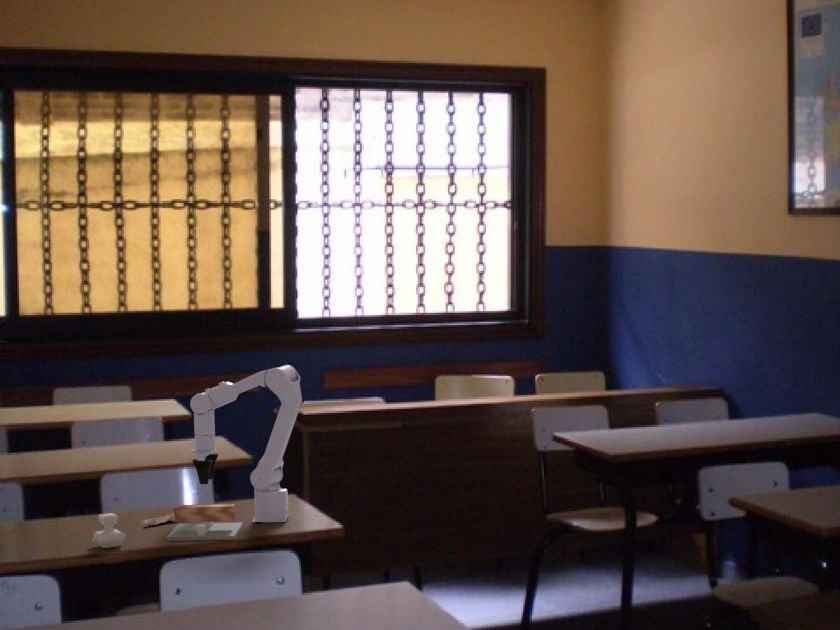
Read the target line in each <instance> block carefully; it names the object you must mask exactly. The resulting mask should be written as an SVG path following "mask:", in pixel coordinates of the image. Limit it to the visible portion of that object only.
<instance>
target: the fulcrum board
mask: <svg viewBox="0 0 840 630" xmlns="http://www.w3.org/2000/svg"><path fill="white" fill-rule="evenodd" d="M243 527H244V522H192V523H177V525H176V526H175V527H174V528H173V529H172V530H171V532H170V533H169V534H168V535H167V536H166V542H175V541H176V542H179V541H184V542H185V541H219V540H220V541H223V540H226V541H228V540H230V541H231V540H235V539H236V538H237V537H238V535H239V534H240V532H241V530H242V529H243ZM241 528H242V529H241Z"/></svg>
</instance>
